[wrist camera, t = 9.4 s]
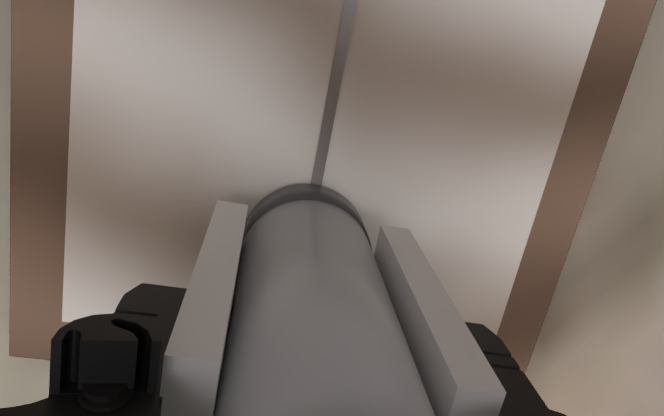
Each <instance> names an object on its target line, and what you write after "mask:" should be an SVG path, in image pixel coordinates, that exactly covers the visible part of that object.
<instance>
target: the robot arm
mask: <svg viewBox="0 0 664 416" xmlns="http://www.w3.org/2000/svg"><path fill="white" fill-rule="evenodd" d="M247 210H248V205H246V204H239V203H233V202H226V201H219V200H218V201H217V203H216V206H215V209H214V212H213V215H212V218H211V221H210V224H209V227H208V229H207V232H206V235H205V238H204V241H203V244H202V247H201V250H200V253H199V255H198V258H197V261H196V264H195V267H194V270H193V273H192V276H191V279H190V282H189V284H188V287H187V288H179V287H171V286H163V285H155V284H147V283H141V284H140V285H138V286H136V287H135V288H133V289H132V290H130V291H128V292H127V293H125V294H124V295H123V297H122V299H121V300H120V302H119V304H118V306H117V307H116V309H115V312H114V313H113V314H98V315H91V316H87V317H83V318H80V319H76V320H73V321H72V322H70V323H68V324H67V325H65V326H63V327H61V328H60V329H59V330H58V331H57V332H56V334H55V335H54V336H53V338H52V339H51V356H50V386H49V397H48V398H47V399H44V400H41V401H38V402H35V403H32V404H27V405H21V406H16V407H9V408H1V409H0V416H213V414H214V409H215V403H216V397H217V391H218V385H219V379H220V373H221V367H222V362H223V356H224V350H225V344H226V338H227V332H228V326H229V320H230V315H231V309H232V303H233V297H234V291H235V285H236V279H237V273H238V268H239V262H240V256H241V250H242V244H243V237H244V230H245V223H246V217H247ZM374 258H375V260H376V263H377V265H378V268H379V271H380V273H381V276H382V278H383V281H384V284H385V286H386V289H387V291H388V294H389V297H390V299H391V302H392V304H393V307H394V310H395V312H396V315H397V318H398V320H399V323H400V325H401V328H402V331H403V333H404V336H405V338H406V341H407V344H408V346H409V349H410V351H411V354H412V357H413V359H414V362H415V365H416V367H417V370H418V372H419V375H420V378H421V380H422V383H423V385H424V388H425V391H426V393H427V396H428V398H429V401H430V404H431V406H432V409H433V411H434V414H435V416H566V415H564V414H562V413H559V412H556V411H552V410H549V409H548V408H547V406H546V405H545V403H544V402H543V400H542V399H541V397H540V396H539V394H538V393H537V391H536V390H535V388H534V387H533V386H532V384H531V383H530V381H529V380H528V378H527V377H526V375H525V374H524V372H523V371H520V366H519V365H518V363H517V362H516V360H515V359H514V358H513V357H511V353H510V352H509V350H508V349H507V347H506V346H505V344H504V343H503V341H502V340H501V339H500V338H499V337H498V336H497V335H495V334H494V333H493V332H492V331H491V330H489V329H488V328H487V327H486V326H484V325H483V324H478V323H470V322H464V320H463V319H462V317H461V315H460V314H459V312H458V310H457V309H456V307H455V305H454V304H453V302H452V300H451V299H450V297H449V295H448V293H447V292H446V290H445V288H444V287H443V285H442V283H441V282H440V280H439V278H438V277H437V275H436V273H435V272H434V270H433V268H432V267H431V265H430V263H429V262H428V260H427V258H426V257H425V255H424V253H423V252H422V250H421V248H420V247H419V245H418V243H417V242H416V240H415V238H414V236H413V235H412V233H411V231H410V230H409V229H406V228H399V227H393V226H386V225H381V226H380V230H379V235H378V239H377V243H376V248H375V252H374Z"/></svg>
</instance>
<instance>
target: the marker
mask: <svg viewBox="0 0 664 416" xmlns="http://www.w3.org/2000/svg"><path fill="white" fill-rule="evenodd" d="M213 416H435V414H434V411H433V409H432V406H431V404H430V401H429V398H428V396H427V393H426V391H425V388H424V385H423V383H422V380H421V378H420V375H419V372H418V370H417V367H416V365H415V362H414V359H413V357H412V354H411V351H410V349H409V346H408V344H407V341H406V338H405V336H404V333H403V331H402V328H401V325H400V323H399V320H398V318H397V315H396V312H395V310H394V307H393V304H392V302H391V299H390V297H389V294H388V291H387V289H386V286H385V284H384V281H383V278H382V276H381V273H380V271H379V268H378V265H377V263H376V260H375V258H374V255H373V252H372V247H371V243H370V240H369V236H368V234H367V231H366V229H365V226H364V224H363V221H362V219H361V217H360V215H359V213H358V211H357V210H356V208H355V207H354V206H353V205H352V204H351V203H350V201H348V200H347V199H346V198H345V197H344V196H342V195H341V194H339V193H338V192H336V191H334V190H332V189H330V188H327V187H324V186H320V185H315V184H295V185H290V186H286V187H283V188H280V189H278V190H276V191H274V192H272V193H270V194H269V195H267V196H266V197H264V198H263V199H262V200H261V201H260V202H259V203H258V204H257V205H256V206H255V207H254V208H253V210H252V211H251V213H250V214H249V216H248V218H247V220H246V223H245V230H244V237H243V244H242V250H241V256H240V262H239V268H238V273H237V279H236V285H235V291H234V297H233V303H232V309H231V315H230V320H229V326H228V332H227V338H226V344H225V350H224V356H223V362H222V367H221V373H220V379H219V385H218V391H217V397H216V403H215V409H214V414H213Z"/></svg>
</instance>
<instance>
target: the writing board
mask: <svg viewBox="0 0 664 416" xmlns="http://www.w3.org/2000/svg"><path fill="white" fill-rule="evenodd" d="M656 2H657V0H11V154H10V342H9V356H15V357H25V358H34V359H44V360H50V356H51V339H52V338H53V336H54V335H55V334H56V332H57V331H58V330H59V329H60V328H61V327H63V326H65V325H67V324H68V323H70V322H72V321H73V320H76V319H80V318H83V317H87V316H91V315H98V314H113V313H114V312H115V309H116V307H117V306H118V304H119V302H120V300H121V299H122V297H123V295H124V294H125V293H127V292H128V291H130V290H132V289H133V288H135V287H136V286H138V285H140V284H141V283H147V284H155V285H163V286H171V287H179V288H187V287H188V284H189V282H190V279H191V276H192V273H193V270H194V267H195V264H196V261H197V258H198V255H199V253H200V250H201V247H202V244H203V241H204V238H205V235H206V232H207V229H208V227H209V224H210V221H211V218H212V215H213V212H214V209H215V206H216V203H217V201H218V200H219V201H226V202H233V203H239V204H246V205H248V210H247V217H246V220H247V218H248V216H249V214H250V213H251V211H252V210H253V208H254V207H255V206H256V205H257V204H258V203H259V202H260V201H261V200H262V199H263V198H264V197H266V196H267V195H269V194H270V193H272V192H274V191H276V190H278V189H280V188H283V187H286V186H290V185H295V184H315V185H320V186H324V187H327V188H330V189H332V190H334V191H336V192H338V193H339V194H341V195H342V196H344V197H345V198H346V199H347V200H348V201H350V203H351V204H352V205H353V206H354V207H355V208H356V210H357V211H358V213H359V215H360V217H361V219H362V221H363V224H364V226H365V229H366V231H367V234H368V236H369V240H370V243H371V247H372V252H373V255H374V252H375V248H376V243H377V239H378V235H379V230H380V226H381V225H386V226H393V227H399V228H406V229H409V230H410V231H411V233H412V235H413V236H414V238H415V240H416V242H417V243H418V245H419V247H420V248H421V250H422V252H423V253H424V255H425V257H426V258H427V260H428V262H429V263H430V265H431V267H432V268H433V270H434V272H435V273H436V275H437V277H438V278H439V280H440V282H441V283H442V285H443V287H444V288H445V290H446V292H447V293H448V295H449V297H450V299H451V300H452V302H453V304H454V305H455V307H456V309H457V310H458V312H459V314H460V315H461V317H462V319H463V320H464V322H470V323H478V324H483V325H484V326H486V327H487V328H488V329H489V330H491V331H492V332H493V333H494V334H495V335H497V336H498V337H499V338H500V339H501V340H502V341H503V343H504V344H505V346H506V347H507V349H508V350H509V352H510V353H511V357H513V358H514V359H515V360H516V362H517V363H518V365H519V366H520V371H523V372H524V374H525V372H526V369H527V367H528V364H529V361H530V358H531V355H532V352H533V350H534V347H535V344H536V341H537V338H538V335H539V333H540V330H541V327H542V324H543V321H544V319H545V316H546V313H547V310H548V307H549V304H550V302H551V299H552V296H553V293H554V290H555V287H556V285H557V282H558V279H559V276H560V273H561V270H562V268H563V265H564V262H565V259H566V256H567V254H568V251H569V248H570V245H571V242H572V239H573V237H574V234H575V231H576V228H577V225H578V222H579V220H580V217H581V214H582V211H583V208H584V205H585V203H586V200H587V197H588V194H589V191H590V189H591V186H592V183H593V180H594V177H595V174H596V172H597V169H598V166H599V163H600V160H601V157H602V155H603V152H604V149H605V146H606V143H607V140H608V138H609V135H610V132H611V129H612V126H613V124H614V121H615V118H616V115H617V112H618V109H619V107H620V104H621V101H622V98H623V95H624V92H625V90H626V87H627V84H628V81H629V78H630V75H631V73H632V70H633V67H634V64H635V61H636V58H637V56H638V53H639V50H640V47H641V44H642V42H643V39H644V36H645V33H646V30H647V27H648V25H649V22H650V19H651V16H652V13H653V10H654V8H655V5H656Z"/></svg>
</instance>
